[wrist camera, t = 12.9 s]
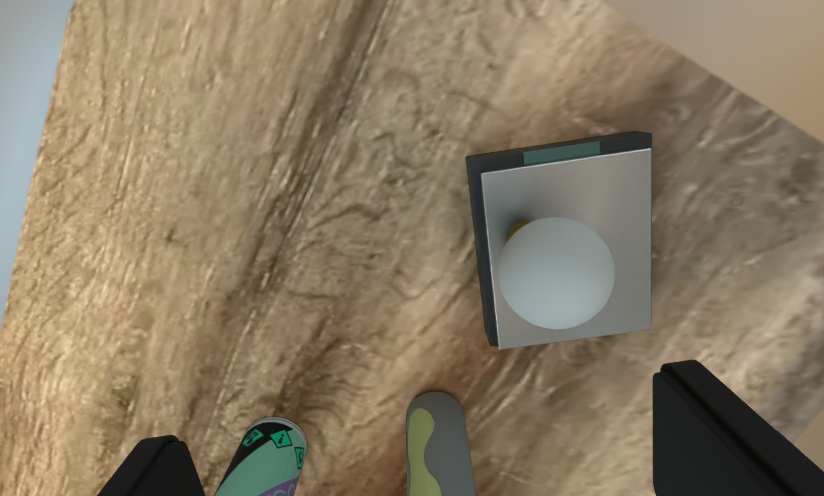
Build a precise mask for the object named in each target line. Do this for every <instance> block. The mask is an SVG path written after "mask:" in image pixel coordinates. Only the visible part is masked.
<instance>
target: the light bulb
mask: <svg viewBox="0 0 824 496" xmlns="http://www.w3.org/2000/svg"><path fill="white" fill-rule="evenodd" d="M614 277H615V271H614V263H613V259H612V256H611V253H610V251H609V249H608V247H607V245H606V244H605V243H604V241H603V240H602V238H601V237H600V236H599V235H598V234H597V233H596V232H595V231H593V230H592V229H591V228H589V227H588V226H586V225H584V224H582V223H580V222H578V221H575V220H572V219H568V218H560V217H550V218H543V219H538V220H536V221H533V222H532V221H524V222H520V223H518V224H516V225H515V226H514V227H513V228H512V229H511V230H510V231H509V233H508V236H507V243H506V245H505V247H504V248H503V250H502V253H501V256H500V259H499V265H498V280H499V285H500V289H501V291H502V294H503V296H504V298H505V300H506V301H507V303H508V305H509V306H510V307H511V308H512V309H513V311H514V312H516V313H517V314H518V315H519V316H520V317H521V318H523V319H525V320H526V321H528V322H530V323H532V324H534V325H537V326H539V327H544V328H549V329H566V328H571V327H575V326H578V325H581V324H583V323H585V322H587V321H588V320H590V319H591V318H593V317H594V316H595V315H596V314H597V313H598V312H600V310H601V309H602V308H603V307H604V306H605V304H606V302H607V301H608V299H609V297H610V295H611V292H612V289H613V285H614Z"/></svg>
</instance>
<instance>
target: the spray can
mask: <svg viewBox="0 0 824 496" xmlns="http://www.w3.org/2000/svg"><path fill="white" fill-rule="evenodd" d="M306 451H307V439H306V436H305V434H304V432H303V431H302V430H301V428H300V427H298V426H297V425H296V424H295V423H293V422H291V421H289V420H287V419H284V418H280V417H267V418H263V419H260V420H258V421H256V422H255V423H253V424H252V425H251V426H250V427H249V429H248V430H247V432H246V433H245V435H244V437H243V439H242V441H241V443H240V445H239V447H238V449H237V451H236V453H235V455H234V457H233V459H232V461H231V463H230V465H229V467H228V469H227V471H226V473H225V475H224V477H223V479H222V481H221V483H220V485H219V487H218V489H217V491H216V493H215V495H214V496H294V493H295V489H296V486H297V483H298V479H299V476H300V472H301V469H302V466H303V462H304V459H305V456H306Z"/></svg>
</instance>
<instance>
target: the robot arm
mask: <svg viewBox="0 0 824 496" xmlns="http://www.w3.org/2000/svg"><path fill="white" fill-rule="evenodd" d="M653 486H654V490H655V493H656V496H824V472H823V471H822V470H821V469H820V468H819V467H818V466H817V465H815V464H814V463H813V462H812V461H811V460H809V458H808V457H806V456H805V455H804V454H803V453H802V452H801V451H799V450H798V449H797V448H796V447H795V446H794V445H793V444H792V443H791V442H789V441H788V440H787V439H786V438H785V437H784V436H783V435H782V434H780V433H779V432H778V431H776V430H775V429H774V428H773V427H771V426H770V425H769V424H768V423H767V422H766V421H765V420H764V419H763V418H761V417H760V416H759V415H758V414H757V413H756V412H755V411H754V410H752V409H751V408H750V407H749V406H748V405H747V404H746V403H745V402H743V401H742V400H741V399H740V398H739V397H738V396H737V395H736V394H734V393H733V392H732V391H731V390H730V389H729V388H728V387H727V386H725V385H724V384H723V383H722V382H721V381H720V380H719V379H718V378H717V377H715V376H714V375H713V374H712V373H711V372H710V371H709V370H708V369H706V368H705V367H704V366H703V365H702V364H701V363H699V362H698V361H696V360H687V361H680V362H673V363H666V364H663V365H662V367H661V370H660V372H658V373H655V374H654V376H653ZM97 496H205V493H204V490H203V487H202V485H201V482H200V479H199V477H198V474H197V471H196V469H195V466H194V463H193V460H192V458H191V455H190V452H189V450H188V447H187V445H186V443H185V442H183V441H179V440H178V438H177V437H176V436H174V435H167V436H160V437H153V438H146V439H143V440H141V441H140V442H139V443H138V444H137V445H136V446H135V447H134V449H133V450H132V451H131V453H130V454H129V455H128V456H127V458H126V459H125V460H124V462H123V463H122V464H121V465H120V467H119V468H118V469H117V471H116V472H115V473H114V474H113V476H112V477H111V478H110V480H109V481H108V482H107V483H106V485H105V486H104V487H103V489H102V490H101V491H100V492H99V494H98V495H97Z"/></svg>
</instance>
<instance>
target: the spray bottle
mask: <svg viewBox="0 0 824 496" xmlns="http://www.w3.org/2000/svg"><path fill="white" fill-rule="evenodd" d="M406 449H407V496H477V495H476V488H475V482H474V475H473V469H472V462H471V456H470V449H469V443H468V436H467V430H466V423H465V417H464V411H463V408H462V406H461V405H460V403H459V402H458V401H457V400H456V399H455V398H454V397H452V396H451V395H449V394H446V393H443V392H428V393H425V394H422V395H420V396H419V397H417V398H416V399H415V400H414V401H413V402H412V403H411V404H410V406H409V408H408V410H407V414H406Z"/></svg>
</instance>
